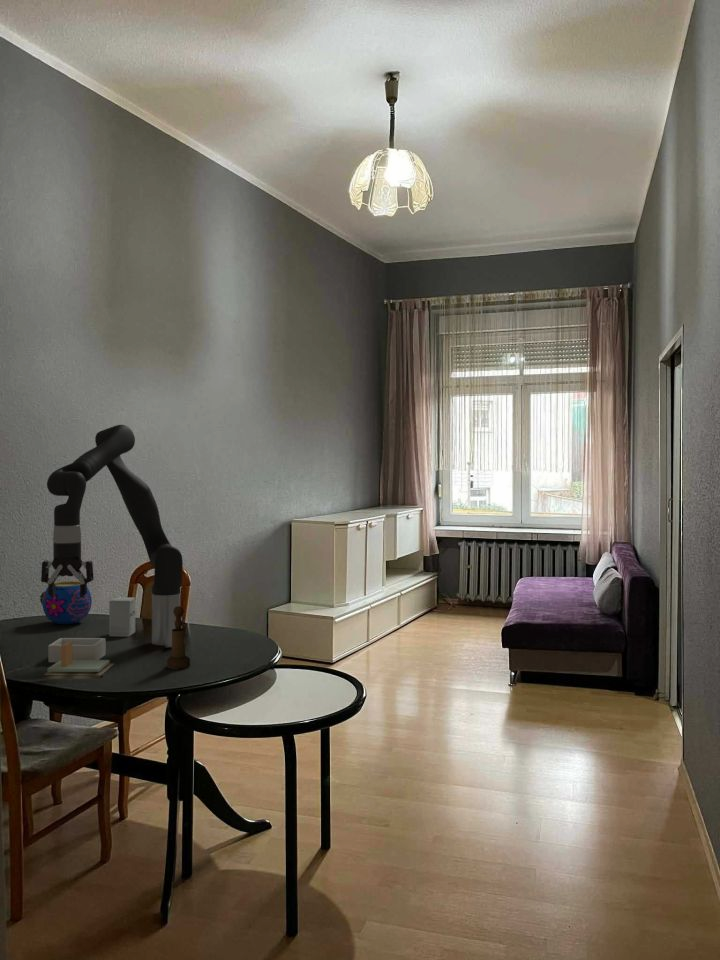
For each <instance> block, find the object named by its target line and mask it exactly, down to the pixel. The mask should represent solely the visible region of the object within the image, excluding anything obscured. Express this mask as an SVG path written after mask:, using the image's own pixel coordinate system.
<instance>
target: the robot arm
mask: <svg viewBox="0 0 720 960" xmlns="http://www.w3.org/2000/svg"><path fill="white" fill-rule="evenodd" d="M94 440H95V445H96V446H95V447H92V448H91V449H89V450H87V451H86V452H85V453H83V454H81V455H80V456H78V458H77V459H75V460H74V461H73V462H72V463H70V464H67V465H64V466H61V467H60V468H58V469H56V470H55V471H53V472H52V473H50V474H49V476H48V478H47V482H46V487H47V490H48V491H49V494H52V495H54V496H56V497H58V496H59V497H62V496H63V497H68V498H67V500H66V502H65V503H62V504H58V505H56V506H54V508H53V510H54V511H53V525H54V526H53V533H52V541H53V544H52V545H53V546H52V548H53V553H52V554H53V560H52V561H49V560H44V561H42V562H41V572H40V573H41V575H40V576H41V577H40V581H41V582H42V583H46V584H47V588H48V594H49V595H50V597H55V584H54V583H56V581H57V579H58V578H59V577H65V576H66V577H74V578H75V579H76V580H77V581H78V582H80V583H81V584H80V597H84V596H85V595H86V594H87V587H88V583H91V582H93V581H94V580H95V579H94V565H93V561H92V560H91V559H90V560H87V561H83V560H82V531H81V509H82V508H81V507H82V504H83V499H84V496H85V493H86V489H87V483H88V481H90V480H92V479H93V477H94V476H96V474H98V473H99V472H100V471H101V470H102V469H104V468H105V467H106V468H107V469H108V471H109V473H110V474H111V476H112V478H113V480H114V482H115V485H116V487H117V489H118V491H119V493H120V495H121V497H122V500H123V502H124V505H125V507H126V509H127V511H128V513H129V516H130V518H131V519H132V522H133V524H134V525H135V527H136V529H137V531H138V533H139V534H140V536H141V539H142V541H143V545H144V547H145V550H146V553H147V556H148V559H149V563H150V565H151V566H152V567H153V569H154V573H153V574H154V575H153V577H154V579H153V584H152V586H151V644H152V645H155V646H164V647H163V648H164V649H165V648H172V630H173V629H176V627H175V621H176V617H175V615H174V613H173V610H174V608H175V607H178V606H181V588H182V584H183V567H184V566H183V564H184V563H183V555H182V552H181V551H180V550H179V548H177V547H175V546H173V545H172V544H171V543H170V540H169V539H168V538H167V536H166V533H165V531H164V528H163V527H162V523H161V517H160V516H161V515H160V512H159V508H158V504H157V501H156V499H155V497H154V495H153V492H152V490H151V488H150V486H149V485H148V484H147V483H146V481H144V480H143V479H142V478H140V477H139V476H138V475H136V474H135V473H134V472H132V471H131V470H130V469H129V468H128V467H127V466H126V464H125V462H124V460H123V459H122V457H121V455H123V454H126V453H129V452H130V451H131V450H132V449H134V446H135V443H136V439H135V435H134V431H132V428H130V427H129V426H127V425H125V424H117V425H116V424H115V425H113V426H110V427H108V428H105V429H102V430H100V431H98V432H97V433H96V434H95V436H94ZM82 567H83V568H84V569H85V571H86V573H85V575H86V577H85V575H84V573H83V571H82V570H81V568H82ZM51 568H53V569H54V571H53V573H52V574H51V575H50V569H51ZM49 575H50V577H49ZM181 621H182V622H183V616H182V617H181ZM181 628H183V625H182V626H181Z"/></svg>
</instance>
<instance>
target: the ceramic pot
mask: <svg viewBox="0 0 720 960" xmlns="http://www.w3.org/2000/svg"><path fill="white" fill-rule="evenodd" d="M54 584H55V597H50V595H49V594H48V587H46V589H45V591H43V592H42V593H41V595H39V596H40V597H39V601H40V603H41V606H42V610H43V613H44V615H45V616H46V618H47V620H49V621H51V622H53V623H55V624H58V625H73V623H74V624H76V623H78V622H81V621H83V620H84V619H86V618H87V617H88V615H89V613H90V611H91V609H92V603H93V601H92V595H91V592H90V588H89V587H88V586H87V594H86V595H85V596H84V597H80V584H81V583H80V582H79V581H73V580H72V581H59V582H54Z"/></svg>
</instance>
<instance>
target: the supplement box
mask: <svg viewBox="0 0 720 960" xmlns="http://www.w3.org/2000/svg"><path fill="white" fill-rule="evenodd" d="M108 603H109V604H108V605H109V606H108V607H109V610H108V611H109V612H108V613H109V616H108V621H109V622H108V623H109V624H108V625H109V627H108V628H109V629H108V631H109V632H108V636H109V637H127V638H128V637H130V636H132V635H133V634H135V633H136V597H124V596H123V597H114V598H112V599H110V600H109V602H108Z"/></svg>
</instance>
